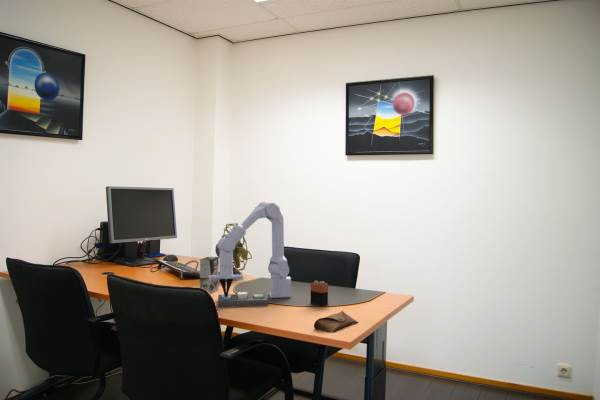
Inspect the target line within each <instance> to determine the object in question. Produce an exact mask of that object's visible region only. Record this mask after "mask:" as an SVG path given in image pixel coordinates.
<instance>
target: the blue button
mask: <svg viewBox="0 0 600 400" xmlns="http://www.w3.org/2000/svg"><path fill="white" fill-rule="evenodd" d="M221 295H222V299H231V295H229V294H228V297H225V296H224V294H221Z"/></svg>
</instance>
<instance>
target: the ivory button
mask: <svg viewBox="0 0 600 400" xmlns="http://www.w3.org/2000/svg"><path fill="white" fill-rule="evenodd" d="M237 294H238V299H246V298H247V294H248V292H247V291H239V292H237Z"/></svg>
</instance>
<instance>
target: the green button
mask: <svg viewBox="0 0 600 400" xmlns="http://www.w3.org/2000/svg"><path fill="white" fill-rule="evenodd" d="M253 294H254V298H263V293H253Z"/></svg>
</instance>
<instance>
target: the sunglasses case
mask: <svg viewBox="0 0 600 400" xmlns="http://www.w3.org/2000/svg"><path fill="white" fill-rule="evenodd" d="M358 323H359V321H357V320H355V319H354V318H352V316H350V315H349V314H347V313H346V312H344V310H342V311H340V312H337V313H336V312H335V313H333V314H330V315H328V316H325V317H321V318H318V319H317V320H316V321H314V324H313V328H314V330H317V331H322V332H326V333H331V334H334V333H336V332H337V331H340V330H343V329H345V328H347V327H350V326H351V325H355V324H358Z"/></svg>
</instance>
